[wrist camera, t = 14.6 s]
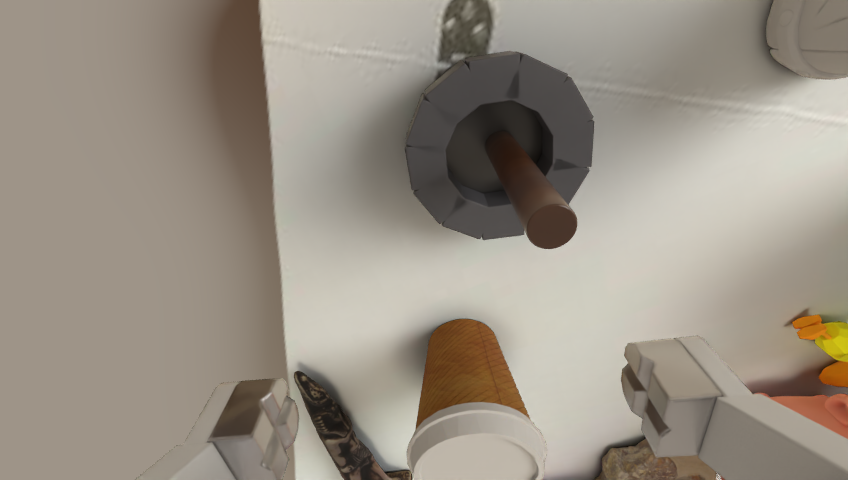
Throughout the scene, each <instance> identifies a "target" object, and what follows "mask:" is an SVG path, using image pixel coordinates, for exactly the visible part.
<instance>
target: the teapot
mask: <svg viewBox="0 0 848 480" xmlns="http://www.w3.org/2000/svg"><path fill="white" fill-rule="evenodd" d="M755 394H762V395H764V396H766V397H768V398H770V399H772V400H774V401H776V402H777V403H779V404H781V405H783V406H785V407H787V408H789V409H791V410H793V411H795V412H797V413H799V414H801V415H803V416H804V417H806V418H808V419H810V420H812V421H814V422H816V423H818V424H820V425H822V426H824V427H826V428H828V429H829V430H831V431H833V432H835V433H837V434H839V435H841V436H843V437H845V438H847V439H848V395H846V394H836V395H833V396H831V397H828V396H826V395H816V396H774V397H769V396H768V395H767V394H766V393H755ZM721 479H722V480H725V479H724V478H723V477H721Z"/></svg>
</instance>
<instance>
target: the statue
mask: <svg viewBox="0 0 848 480" xmlns="http://www.w3.org/2000/svg"><path fill="white" fill-rule="evenodd" d="M294 378H295V382H296V384H297V386H298V388H299V390H300V392H301V395H302V398H303V401H304V403H305V406H306V409H307V411H308V413H309V415H310V417H311V420H312V422H313V424H314V426H315V428H316V431H317V433H318V435H319V437H320V439H321V440H322V442H323V444H324V446H325V447H326V449H327V451H328V453H329V454H330V456H331V458H332V460H333V461H334V463H335V465H336V467H337V468H338V470H339V471H340V474H341V476H342V477H343V478H344V480H412V473H411V472H410V471H399V472H392V473H386V474H385V473H384V471H383V470H382V468H381V467H380V466H379V465H378V463H377V462H376V461H375V459H374V457H373V455H372V454H371V452H370V451H369V449H368V448H367V447H366V446H365V445H364V444H363V443H362V442H361V441H360V440H359V439H358V438H357V437H356V435H355V433H354V431H353V428H352V424H351V421H350V419H349V418H348V416H347V415H346V414H344V413H343V411H342V409H341V408H340V406H339V405H338V404H337V403H336V402H335V401H334V400H333V399H332V398H331V397H330V396H329V394H328V393H327V392H326V391H325V390H324V388H323V387H322V386H320V385H319V384H318V383H316V382H315V381H314V380H312V379H311V378H309V377H308V376H307V375H305V374H304V373H302V372H301V371H296V372H295V373H294Z"/></svg>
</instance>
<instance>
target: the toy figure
mask: <svg viewBox="0 0 848 480" xmlns="http://www.w3.org/2000/svg"><path fill="white" fill-rule="evenodd" d="M821 321H822V320H821V317H820V316H819V315H813V316H806V317H801V318H798V319H797V320H795V321H793V322H792V324H793V326H794V328H795V329H801V330H800V331H798V332H797V334H798V336H799V338H800V339H809V340H814V339H815V344H816V345H817V346H818V347H820V348H821V349H822V350H823V351H825V352H826V353H827V354H829V355H830V356H831V357H833V358H834V359H836V360H837V361H838V362H835V363H833V364H831V365H829V366H827V367H826V368H824V369H823V371H822V372H821V374H820V375H819V377H818V378H819V379H820V380H821V382H822V383H823V384H828V385H832V386H837V387H848V324H847V323H842V322H840V321H837V322H830V323H824V324H822V323H821Z"/></svg>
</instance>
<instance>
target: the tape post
mask: <svg viewBox="0 0 848 480" xmlns="http://www.w3.org/2000/svg"><path fill="white" fill-rule="evenodd" d="M445 152H446V160H447V167H448V168H449V170H450V171H451V172H452V174H453V175H454V176H455V177H456V179H457V180H458V181H459V183H460V184H461V185H462V186H465V187H468V188H470V189H473V190H475V191H478V192H480V193H483V194H485V193H492V192H500V191H505V192H506V194H507V196H508V198H509V200H510V202H511V204H512V206H513V208H514V210H515V212H516V214H517V216H518V218H519V220H520V222H521V224H522V226H523V228H524V230H525V232H526V234H527V237H528V238H529V240H530V241H531V242H532V243H533V244H534V245H535V246H537V247H540V248H544V249H553V248H557V247H560V246H562V245H564V244H565V243H567V242H568V241H569V240H570V239H571V238H572V237H573V235H574V234H575V231H576V228H577V217H576V215H575V213H574V212H573V210H572V209H571V208H570V207H569V205H568V204H567V203H566V202H565V200H564V199H563V198H562V197H561V195H560V194H559V193H558V192H557V190H556V189H555V188H554V187H553V185H552V184H551V183H550V182H549V181H548V179H547V178H546V177H545V176H544V174H543V173H542V172H541V171H540V169H539V168H538V167H537V166H536V164H537V162H538V160H539V159H540V157H541V155H542V126H541V124H540V122H539V121H538V119H537V118H536V116H535V115H534V113H533V111H532V110H531V109H529V108H527V107H525V106H523V105H520V104H518V103H516V102H514V101H505V102H498V103H491V104H484V105H480V106H479V107H478V108H477V109H475V110H474V111H473V112H471V113H470V114H469V115H468V116H466V117H465V118H464V119H462V120H461V121H460V122H459V123H457V125H456V127H455V129H454V132H453V134H452V136H451V139H450V141H449V143H448V146H447V148H446V150H445Z"/></svg>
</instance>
